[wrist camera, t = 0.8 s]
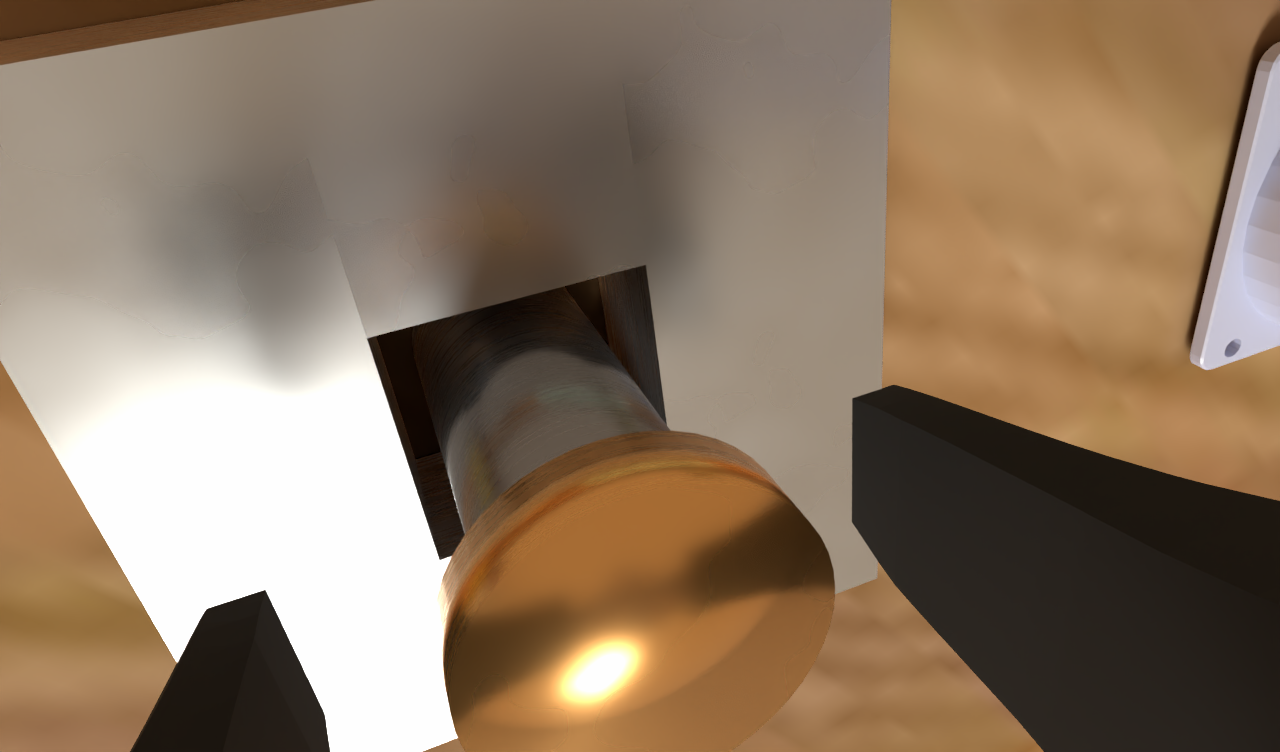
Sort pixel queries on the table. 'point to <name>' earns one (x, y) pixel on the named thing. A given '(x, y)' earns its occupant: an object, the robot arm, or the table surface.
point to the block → (422, 276)
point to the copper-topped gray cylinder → (605, 551)
